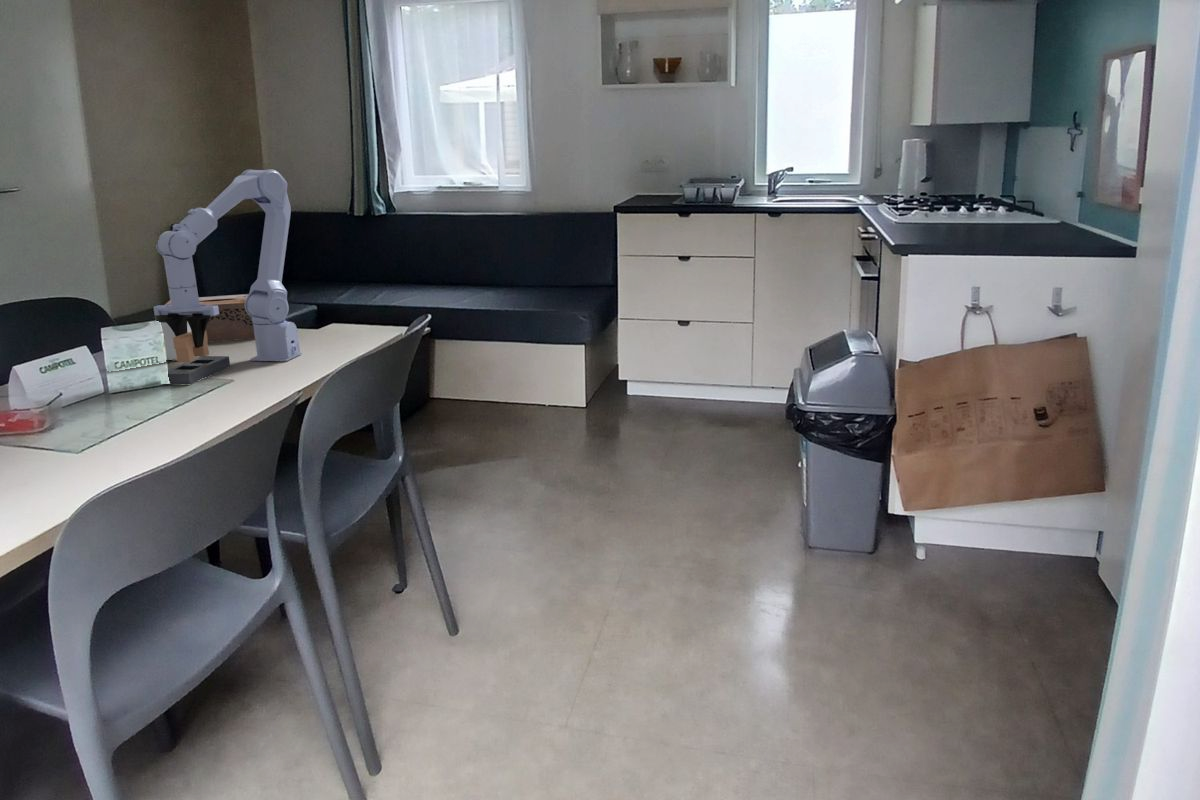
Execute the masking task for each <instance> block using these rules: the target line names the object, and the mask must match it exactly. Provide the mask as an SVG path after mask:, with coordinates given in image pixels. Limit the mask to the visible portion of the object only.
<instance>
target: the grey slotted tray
mask: <svg viewBox="0 0 1200 800" xmlns="http://www.w3.org/2000/svg"><path fill="white" fill-rule="evenodd" d="M194 359H195V360H194V361H192V362H182V363H181V364H179V365H176V366H174V367H172V368H169V369H167V370H168V377H169V381H170V383H171V384H191V383H194V382H196V381H198V380H200V379H202V378H205V377H207V378H208V376H209V377H211V376H213V375H215V373H216V374H217V372H218V373H220V372H221V371H224V370H226V369H229V368H231V363H230V356H227V355H225V356H224V355H223V356H222V355H221V356H220V355H207V356H197V357H196V358H195V357H194ZM210 375H211V376H210ZM205 379H206V378H205ZM202 380H203V379H202ZM200 381H201V380H200ZM198 382H199V381H198ZM196 383H197V382H196ZM194 384H195V383H194ZM191 385H192V384H191Z"/></svg>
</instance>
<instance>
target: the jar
mask: <svg viewBox="0 0 1200 800" xmlns="http://www.w3.org/2000/svg"><path fill="white" fill-rule="evenodd" d="M153 314H154V313H153ZM167 316H168V315H155V314H154V319H155V320H154V321H153V322H154V323H155V321H159V322H161V324H162V328H163V333H164V340H165V346H166V351H167V355H168V358H169V360H172V361H174V360H173V359H177V356H176V349H174V342H173V338H174V337H176V336H175V334H174V332H173V331H172V329H171V328H170V326H169V325H168V324H167V323H166V322H165V318H168V317H167ZM191 316H192V315H188V317H191ZM187 332H191V328H190V326H189V323H188V321H187Z"/></svg>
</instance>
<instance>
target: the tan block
mask: <svg viewBox="0 0 1200 800" xmlns="http://www.w3.org/2000/svg"><path fill="white" fill-rule="evenodd" d="M207 341H208V338H207V332H206V331H205V333H204V341H203V346H202V347H199V348H195V345H194V341H193V335H192V331H191V332H188V333H185V334H183V335H180V336H177V337H174V338H173V342H174V349H176V356H177V360H176V363H186V362H192V361H194V360H195V357H200V356H210V351H209V344H208V342H207ZM194 356H195V357H194Z"/></svg>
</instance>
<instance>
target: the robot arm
mask: <svg viewBox="0 0 1200 800" xmlns="http://www.w3.org/2000/svg"><path fill="white" fill-rule="evenodd" d="M287 190H288V182H287V181H286V179H285V178H284V176H283V175H282V174H281V173H280V172H278V171H277V170H275V169H266V170H265V169H263V170H262V169H261V170H260V169H246V170H244V171H242V173H241V174H239V175H238V176H235V177H234V179H233V180H232V182H231V183H230V184H229V185H228V186H227V187H226V188H225V189H224V190H223V191H222V192H221V193H220V194H218V196H217V197H215V198H214V200H212V202H210V203H209V204H208V206H206V207H205V208H204V207H196V208H191V209H189V210H188V211H187V213H188V215H187V216H185V218H183V219H182V220H180V222H179V223H174V224H173V225H172V230H167V231H163V232H162V233H161V234H160V235H159V237H158V240H157V244H155V247H156V250H157V252H158V254H160V255H161V256H162V258H163V262H164V270H165V275H166V276H165V277H166V281H167V287H168V294H169V301H171V305H165V304H163V305H162V304H161V305H159V304H158V305H155V306H153V312H154V313H153V314H155V315H168V316H167V317H168V318H165V322H166V323H167V324H168V325H169V326H170V328H171V329H172V331H173V332H174V334H175V336H176V337H177V336H180V335H183V334H185V333H188V332H187V321H188V323H189V326H190V328H191V331H192V335H193V341H194V345H195V348H199V347H202V346H203V341H204V333H205V329H206V326H207V323H208V321H209V318H210V316H215V315H218V314H219V308H218V306H215V305H203V304H199V298H198V297H199V293H198V287H197V286H198V285H197V278H196V272H195V266H194V261H193V256H194V255H195V253H196V252H197V247H198V245H199V244H200V243H201V242H203V240H205V239H206V238H207V237H208V236H209V235H210V234H212V232H214V231H215V230H216V229H217V228H218V220H219V219H220V218H222V217H223V216H224V215H225V214H227V213H228V212H230V210H231V209H233V208H234V207H236V206H237V205H238V204H240V203H241V202H243V201H244V200H248V199H249V200H250V199H251V200H253V201H254V202H255V203H256V204H258V205H259V207H260V208H261V209H262V211H264V213H265V217H264V225H263V232H262V241H261V247H260V248H261V249H260V256H259V264H258V271H257V278H256V280H254V282H253V283H252V284H251V286H250V289H249V293H248V294H249V295H248V297H247V298H246V300H245V310H246V312H247V314H248V315H249V316H251V317H252V321H253V328H254V335H255V338H254V342H255V349H256V355H255V356H253V357H251V358H250V359H249V361H250V362H288V361H290V360H292V359H294V358H296V357H298V356H300V355H302V353H303V351H301V349H300V340H299V334H298V333H299V332H298V328H297V325H296V324H295V322H292V321H288V320H286V317H287V316H288V314H289V310H290V308H289V306H290V305H289V302H288V291H287V289H286V288H285V286H284V285H283V283H282V282H283V274H284V266H285V258H286V251H287V246H288V245H287V243H288V235H289V228H290V221H291V212H292V207H291V203H290V200H289V199H290V198H289V196H288V192H287ZM155 315H154V316H155ZM188 315H192V316H191V317H188Z"/></svg>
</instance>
